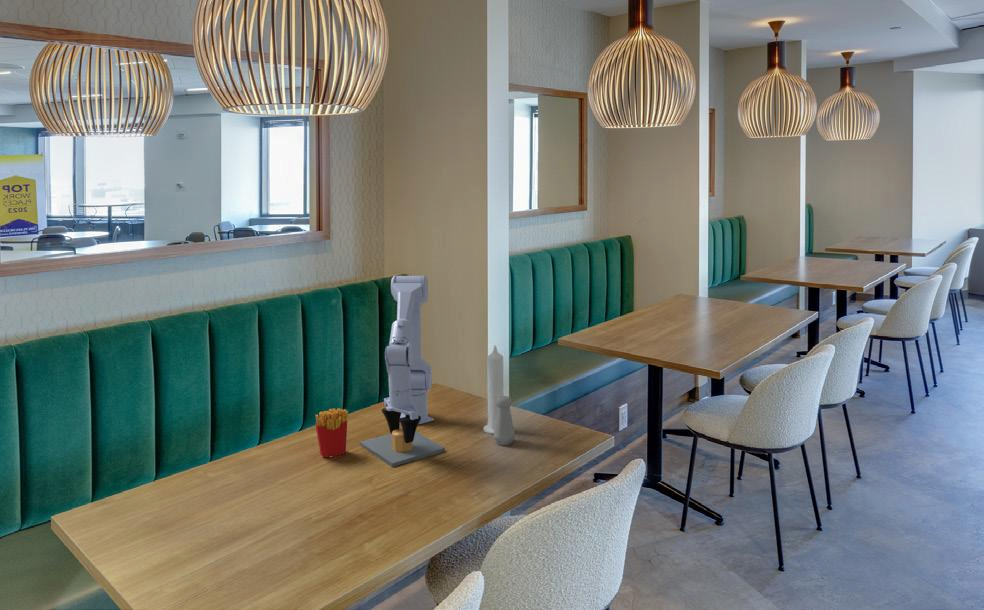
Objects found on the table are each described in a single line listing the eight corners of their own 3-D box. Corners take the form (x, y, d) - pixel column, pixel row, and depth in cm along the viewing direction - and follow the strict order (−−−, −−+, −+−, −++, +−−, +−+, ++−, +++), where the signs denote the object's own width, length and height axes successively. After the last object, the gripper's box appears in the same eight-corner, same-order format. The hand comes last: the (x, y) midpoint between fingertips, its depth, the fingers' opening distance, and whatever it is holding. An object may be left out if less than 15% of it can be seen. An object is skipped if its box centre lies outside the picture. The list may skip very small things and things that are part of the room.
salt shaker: (514, 446, 200) (514, 400, 197) (493, 446, 200) (493, 401, 197) (514, 438, 206) (514, 393, 203) (493, 438, 206) (493, 393, 203)
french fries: (320, 459, 193) (317, 415, 191) (316, 454, 196) (313, 411, 194) (351, 453, 197) (349, 410, 194) (347, 448, 200) (345, 405, 198)
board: (359, 445, 202) (359, 441, 202) (410, 431, 211) (410, 428, 211) (392, 466, 188) (392, 463, 188) (445, 451, 197) (445, 447, 197)
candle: (479, 427, 214) (478, 343, 209) (501, 423, 217) (501, 340, 212) (489, 436, 208) (488, 349, 203) (512, 431, 211) (512, 346, 205)
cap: (389, 447, 198) (388, 431, 197) (406, 442, 201) (405, 426, 200) (398, 453, 194) (398, 437, 193) (415, 448, 197) (415, 432, 196)
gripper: (373, 384, 197) (375, 433, 200) (400, 398, 186) (402, 449, 189) (396, 379, 201) (398, 427, 204) (424, 393, 190) (426, 443, 193)
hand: (401, 437), depth 197 cm, fingers open, 7 cm apart
